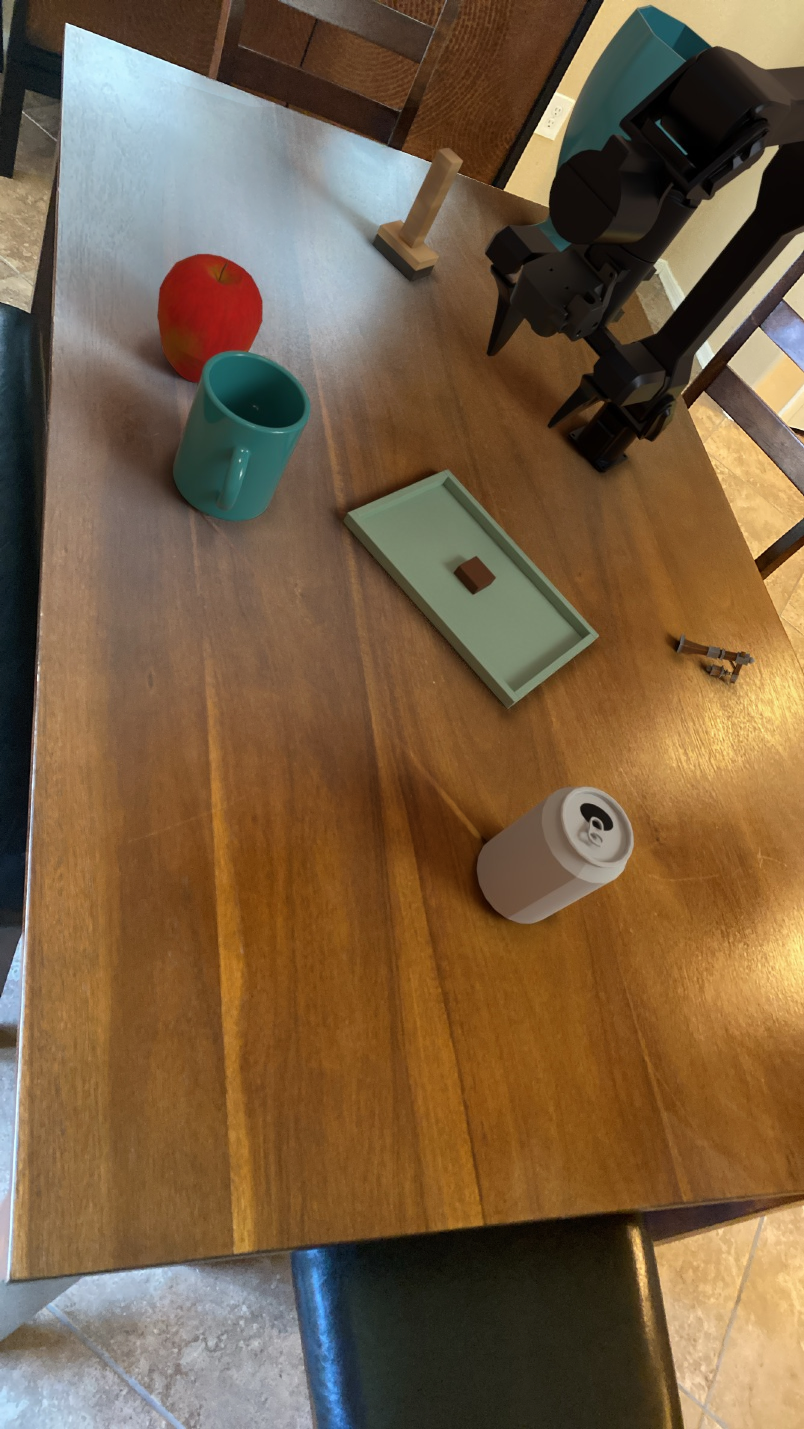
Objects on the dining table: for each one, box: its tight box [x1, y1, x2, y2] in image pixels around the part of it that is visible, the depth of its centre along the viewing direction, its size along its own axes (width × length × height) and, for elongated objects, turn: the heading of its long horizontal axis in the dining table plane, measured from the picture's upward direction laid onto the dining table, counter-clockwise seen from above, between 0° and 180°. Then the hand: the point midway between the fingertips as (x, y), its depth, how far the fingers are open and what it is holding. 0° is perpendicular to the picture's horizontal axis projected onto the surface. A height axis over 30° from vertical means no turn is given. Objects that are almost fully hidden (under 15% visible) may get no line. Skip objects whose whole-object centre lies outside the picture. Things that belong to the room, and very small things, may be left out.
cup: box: [172, 351, 312, 522], centre depth 73 cm, size 9×12×11 cm
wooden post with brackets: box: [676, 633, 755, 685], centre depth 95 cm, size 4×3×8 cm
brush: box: [372, 147, 464, 282], centre depth 106 cm, size 7×4×14 cm, turn 51°
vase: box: [524, 4, 713, 252], centre depth 119 cm, size 17×17×30 cm
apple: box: [156, 253, 264, 384], centre depth 80 cm, size 9×9×12 cm
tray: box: [342, 468, 600, 710], centre depth 85 cm, size 16×24×2 cm, turn 46°
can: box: [476, 785, 635, 925], centre depth 66 cm, size 8×8×12 cm
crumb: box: [454, 556, 496, 595], centre depth 85 cm, size 3×3×1 cm
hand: (520, 390), depth 80 cm, fingers open, 9 cm apart
